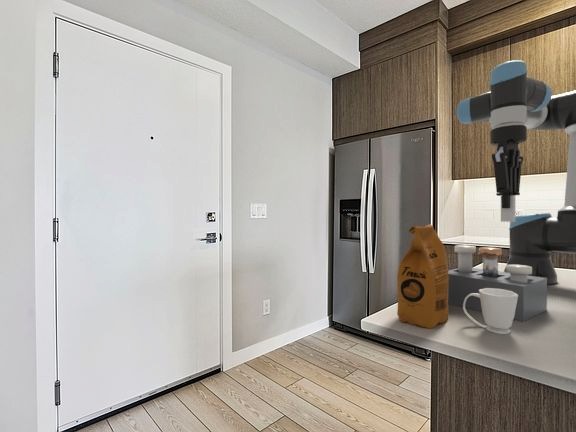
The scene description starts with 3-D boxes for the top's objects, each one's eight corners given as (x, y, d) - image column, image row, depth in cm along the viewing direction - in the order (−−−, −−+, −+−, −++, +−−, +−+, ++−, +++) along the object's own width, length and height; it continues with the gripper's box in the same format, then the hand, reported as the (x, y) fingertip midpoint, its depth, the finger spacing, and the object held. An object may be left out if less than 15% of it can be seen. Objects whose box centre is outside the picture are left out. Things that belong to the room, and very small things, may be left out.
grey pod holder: (465, 293, 97) (465, 266, 97) (546, 309, 81) (546, 278, 80) (439, 301, 89) (439, 272, 89) (523, 321, 73) (523, 286, 72)
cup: (517, 339, 63) (517, 298, 63) (460, 328, 69) (460, 290, 69) (518, 328, 69) (519, 290, 68) (466, 319, 75) (466, 284, 75)
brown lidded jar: (484, 277, 88) (484, 246, 88) (505, 281, 84) (505, 248, 84) (475, 280, 85) (475, 248, 85) (496, 284, 81) (496, 250, 81)
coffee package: (389, 320, 75) (389, 225, 74) (414, 308, 83) (414, 223, 83) (433, 332, 67) (433, 227, 67) (455, 317, 76) (455, 224, 75)
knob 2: (511, 296, 83) (511, 263, 83) (535, 301, 79) (535, 266, 79) (502, 299, 80) (502, 266, 80) (526, 304, 76) (526, 269, 76)
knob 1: (460, 274, 94) (460, 244, 94) (479, 277, 89) (479, 246, 89) (451, 276, 91) (451, 246, 91) (470, 279, 86) (470, 248, 86)
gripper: (502, 133, 87) (502, 220, 88) (480, 127, 80) (480, 222, 80) (535, 127, 81) (535, 220, 82) (515, 120, 74) (514, 223, 74)
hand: (508, 221), depth 81 cm, fingers closed
